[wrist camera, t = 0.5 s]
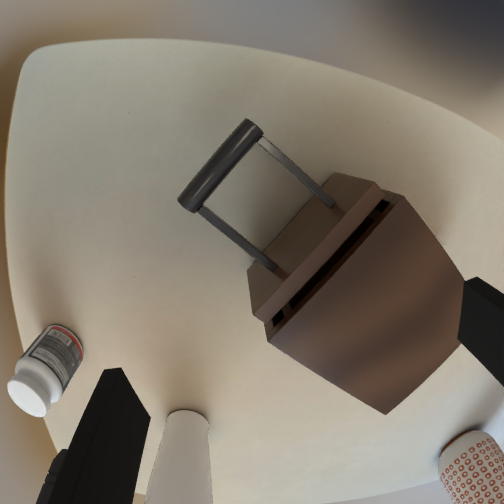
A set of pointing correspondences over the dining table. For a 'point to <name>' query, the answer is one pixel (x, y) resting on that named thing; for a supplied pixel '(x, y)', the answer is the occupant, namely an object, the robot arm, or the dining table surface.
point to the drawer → (298, 230)
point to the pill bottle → (45, 370)
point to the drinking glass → (182, 462)
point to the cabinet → (378, 311)
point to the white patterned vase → (473, 469)
